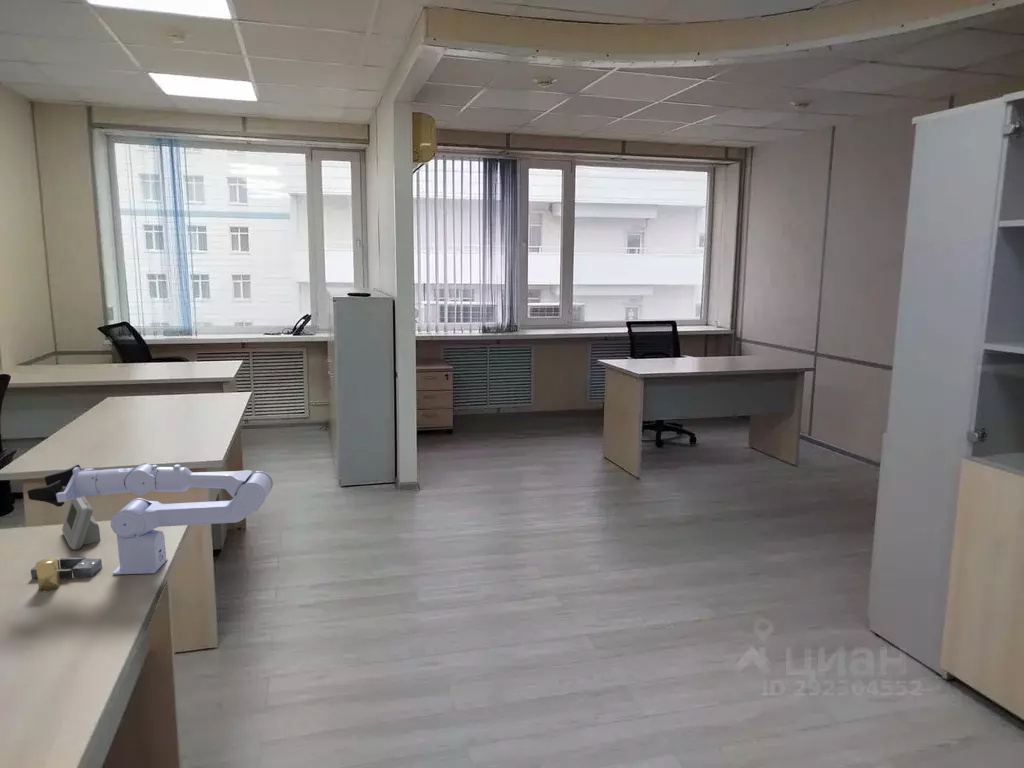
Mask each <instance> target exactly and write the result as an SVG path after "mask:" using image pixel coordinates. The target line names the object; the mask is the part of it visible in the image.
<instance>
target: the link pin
mask: <svg viewBox="0 0 1024 768" xmlns="http://www.w3.org/2000/svg"><path fill="white" fill-rule="evenodd" d="M57 560H58V558H55V557H53V558H52V557H51V558H49V557H48V558H45V559H41V560H39V561H37V562H35V566H36V570H37V578H38V579H37V585H38V587H37V588H38V591H39V592H43V591H47V592H51V590H52V591H55V590H56V589H59V588H61V580H60V578H59V570H60V569H58V561H57ZM58 587H59V588H58ZM54 589H55V590H54Z"/></svg>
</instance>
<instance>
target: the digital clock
mask: <svg viewBox="0 0 1024 768" xmlns="http://www.w3.org/2000/svg"><path fill="white" fill-rule="evenodd" d="M93 511H94V510H93V508H92V506H91V504H90V503H89V502H88V499H87V498H86V496H83V497H81V498H76V499H70V502H69V506H68V508H67V512H66V514H65V519H64V522H63V526H62V528H61V530H62V533H63V536H64V538H65V540H66V542H67V544H68V546H69V547H70V548H71V549H73V551H77V550H79V549H81V548H82V546H84V545H83V544H85V545H88V543H89V544H94V543H97V541H98V542H101V533H100V527H99V524H98V523H97V521H96V519H95V518H94V516H93ZM93 542H94V543H93Z"/></svg>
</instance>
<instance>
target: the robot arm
mask: <svg viewBox="0 0 1024 768" xmlns="http://www.w3.org/2000/svg"><path fill="white" fill-rule="evenodd" d="M44 480H45V486H40V487H35V488H30V489H28V490H27V495H28V499H29V500H30V501H38V502H44V503H49V504H51V505H54V506H55V507H57V508H59V507H62V506H63V505H64V504H65V503H66V502H68V501H71V499H76V498H81V497H83V496H84V497H91V496H104V495H115V494H116V495H117V494H124V493H131V494H132V495H135V496H136V495H137V496H144V495H147V494H148V493H149V492H161V493H162V492H165V493H168V492H170V493H173V492H178V493H184V492H187V490H189V489H190V488H204V489H205V488H206V489H207V488H208V489H223V490H225V491H226V492H227V493H228V494H229V495H230V496H231V497H232V499H231V500H218V501H217V500H215V501H198V502H195V501H194V502H178V503H177V502H175V503H161V502H159V501H157V500H147V499H145V498H141V497H138V498H133V499H132V500H130V501H129V502H128V503H127V504H126V505H125V506H124V507H123V508H121V509H120V510H119V511H118V512H116V513H115V514H114V515H113V516H112V518H111V520H110V528H111V531H113V533H114V534H115V535H116V540H117V551H118V560H119V562H118V563H119V566H117V568H115V570H113V571H112V575H137V574H139V575H141V574H156V573H157V572H158V570H159V569H160V568H161V567H162V566H163V564H165V563H166V562H167V561H168V557H167V552H166V539H165V538H166V537H165V534H164V532H163V531H162V530H158V529H157V528H160V527H161V528H162V527H163V528H164V527H177V526H179V527H180V526H195V525H196V526H197V525H213V524H214V525H215V524H232V523H239V522H241V521H242V520H244V519H246V518H247V517H248V516H251V515H252V514H253V513H254V512H258V511H259V510H260V508H261V506H262V505H263V504H264V502H265V501H266V498H267V497H268V495H269V494H270V492H271V490H272V489H273V486H274V482H273V479H272V477H271V475H270V474H269V473H268V472H265V471H262V470H256V471H253V470H250V469H246V470H245V469H244V470H234V471H233V470H232V471H231V470H230V471H200V472H199V471H197V472H195V471H194V472H193V471H191V470H190V468H189V467H186V466H184V467H183V466H182V465H181V464H174V465H173V466H158V464H153V465H152V464H149V463H147V462H143V463H140V464H139V465H138V466H137V467H127V468H125V467H124V468H122V467H120V468H108V469H97V470H96V469H95V468H94V467H89V468H84V469H83V470H82V469H81V466H80V465H79V464H75V465H74V466H72V467H70V468H68V469H67V470H63V471H59V472H56V473H52V474H49V475H46V476H44ZM63 487H65V488H63ZM156 529H157V530H156Z"/></svg>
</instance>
